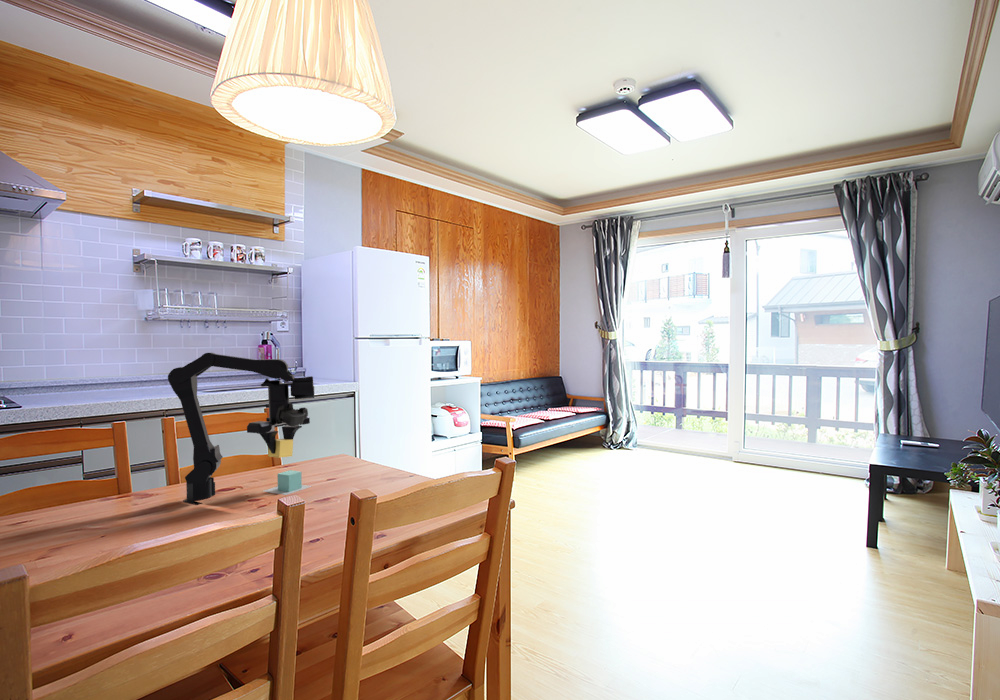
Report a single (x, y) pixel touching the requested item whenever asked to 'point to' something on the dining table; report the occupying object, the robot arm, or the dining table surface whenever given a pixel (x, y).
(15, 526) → the dining table surface
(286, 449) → the ochre brick
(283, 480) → the teal brick
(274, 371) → the robot arm
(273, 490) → the build plate
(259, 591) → the dining table surface
